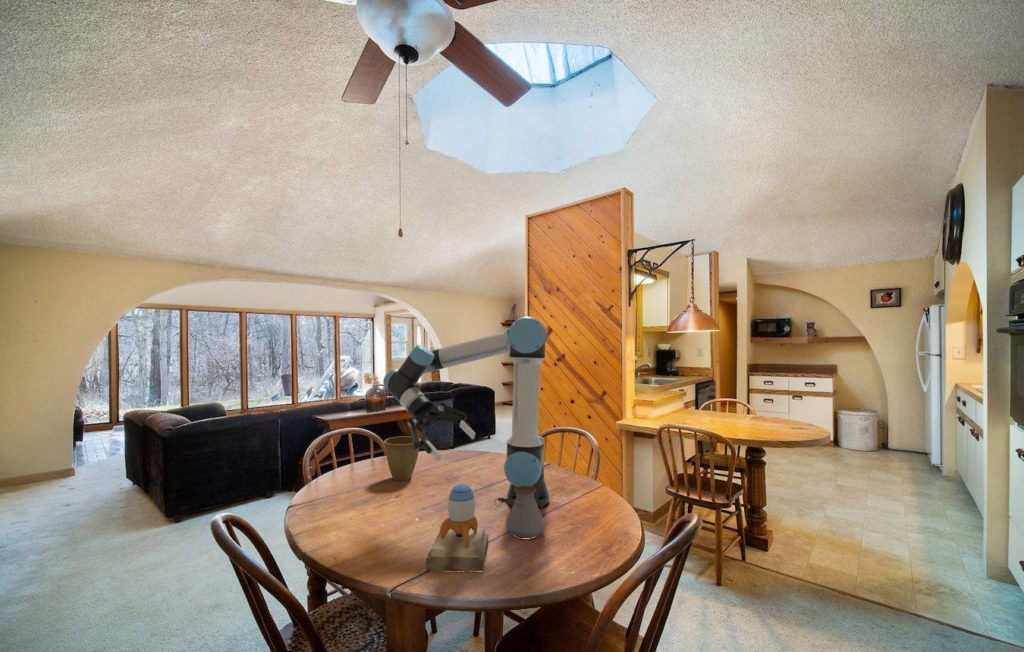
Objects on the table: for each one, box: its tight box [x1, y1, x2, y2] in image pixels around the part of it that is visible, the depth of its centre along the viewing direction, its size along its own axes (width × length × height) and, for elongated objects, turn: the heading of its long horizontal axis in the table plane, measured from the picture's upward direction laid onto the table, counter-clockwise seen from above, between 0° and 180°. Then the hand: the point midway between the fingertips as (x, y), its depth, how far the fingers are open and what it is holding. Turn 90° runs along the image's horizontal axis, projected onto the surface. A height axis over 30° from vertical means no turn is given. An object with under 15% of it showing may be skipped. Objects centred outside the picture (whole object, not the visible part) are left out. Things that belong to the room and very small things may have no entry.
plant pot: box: [383, 435, 421, 481], centre depth 176 cm, size 15×15×16 cm
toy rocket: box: [439, 483, 479, 549], centre depth 109 cm, size 10×11×15 cm
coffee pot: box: [493, 486, 546, 538], centre depth 119 cm, size 21×12×15 cm, turn 150°
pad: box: [425, 527, 489, 573], centre depth 109 cm, size 14×14×5 cm
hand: (457, 446), depth 127 cm, fingers open, 13 cm apart
